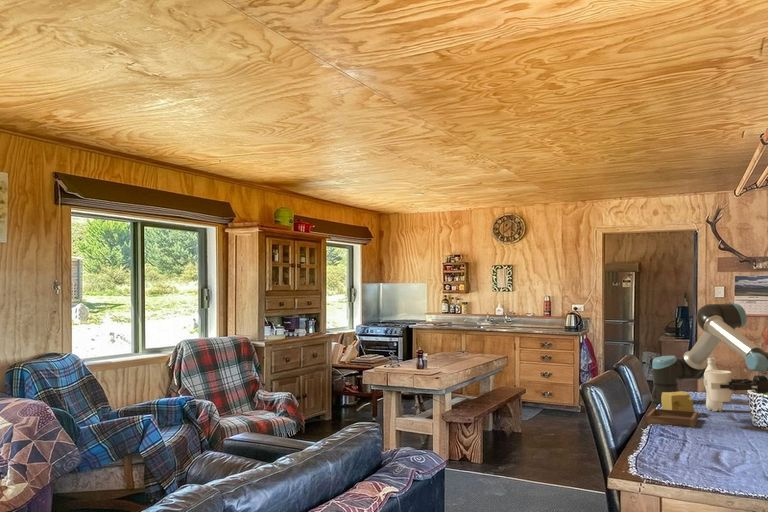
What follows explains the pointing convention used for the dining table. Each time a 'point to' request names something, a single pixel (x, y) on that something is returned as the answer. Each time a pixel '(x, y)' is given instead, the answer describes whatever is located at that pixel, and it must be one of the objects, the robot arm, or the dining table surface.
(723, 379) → the cream cup
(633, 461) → the dining table surface
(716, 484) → the dining table surface
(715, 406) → the water bottle
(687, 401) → the cheese
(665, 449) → the dining table surface
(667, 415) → the walnut crate
